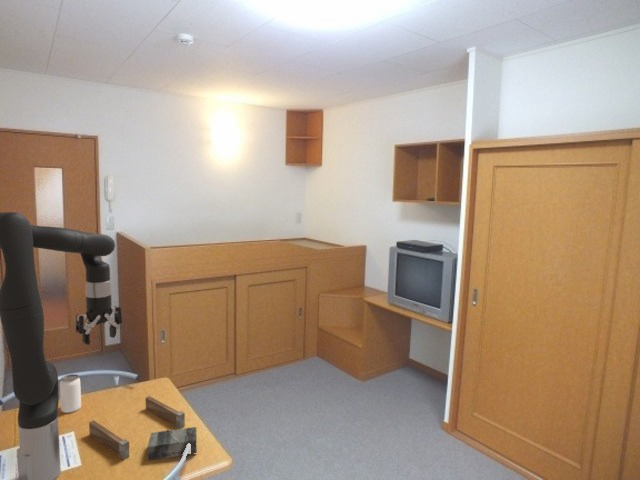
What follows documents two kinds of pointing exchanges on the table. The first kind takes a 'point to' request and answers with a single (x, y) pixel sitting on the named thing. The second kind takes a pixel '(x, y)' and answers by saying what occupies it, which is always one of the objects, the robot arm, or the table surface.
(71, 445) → the table surface
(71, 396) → the can
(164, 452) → the stone block
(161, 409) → the pair of wooden rails
